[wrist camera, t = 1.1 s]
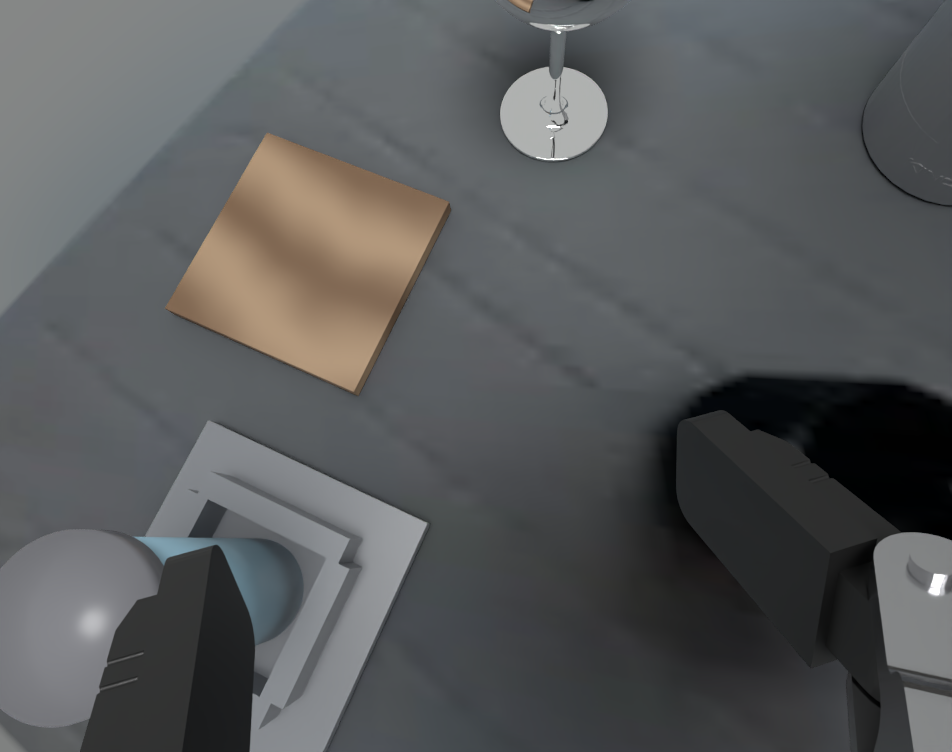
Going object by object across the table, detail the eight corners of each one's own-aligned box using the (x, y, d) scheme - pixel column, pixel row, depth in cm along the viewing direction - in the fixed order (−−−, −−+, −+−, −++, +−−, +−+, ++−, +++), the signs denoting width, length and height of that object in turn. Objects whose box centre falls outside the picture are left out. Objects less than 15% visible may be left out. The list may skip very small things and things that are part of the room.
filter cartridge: (234, 516, 34) (39, 499, 20) (326, 562, 33) (187, 576, 19) (181, 618, 32) (-63, 673, 19) (275, 668, 32) (89, 763, 18)
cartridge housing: (216, 423, 36) (184, 411, 32) (430, 523, 34) (420, 521, 30) (91, 654, 33) (42, 667, 30) (313, 779, 31) (288, 808, 28)
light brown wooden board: (273, 142, 40) (266, 132, 39) (450, 210, 38) (449, 201, 37) (174, 314, 38) (164, 308, 37) (358, 396, 36) (353, 391, 35)
